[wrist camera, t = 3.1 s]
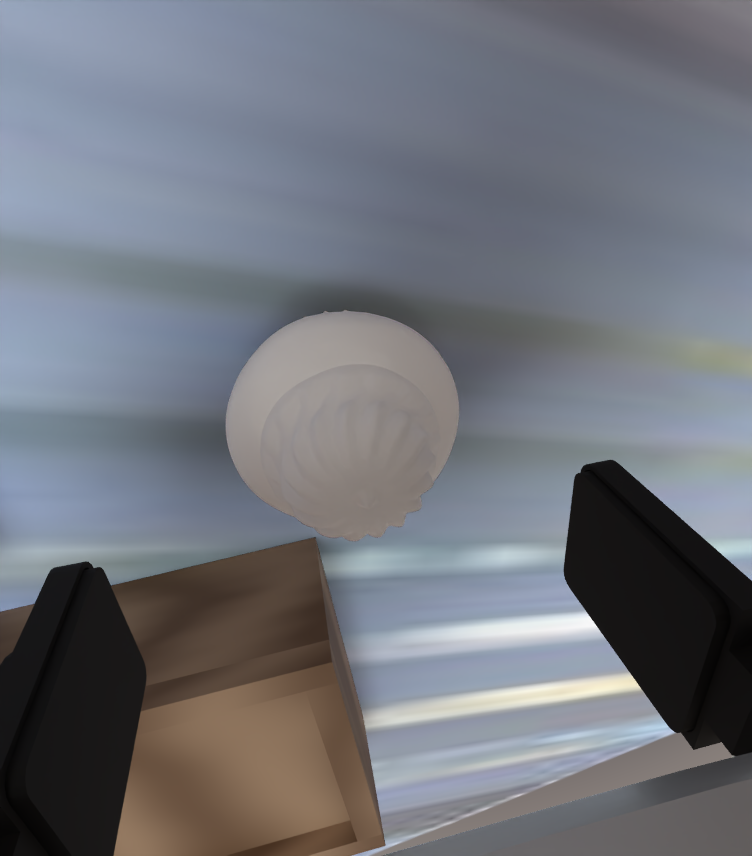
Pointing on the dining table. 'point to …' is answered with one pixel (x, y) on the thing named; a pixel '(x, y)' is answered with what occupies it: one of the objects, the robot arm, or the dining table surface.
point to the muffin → (343, 422)
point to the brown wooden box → (242, 713)
